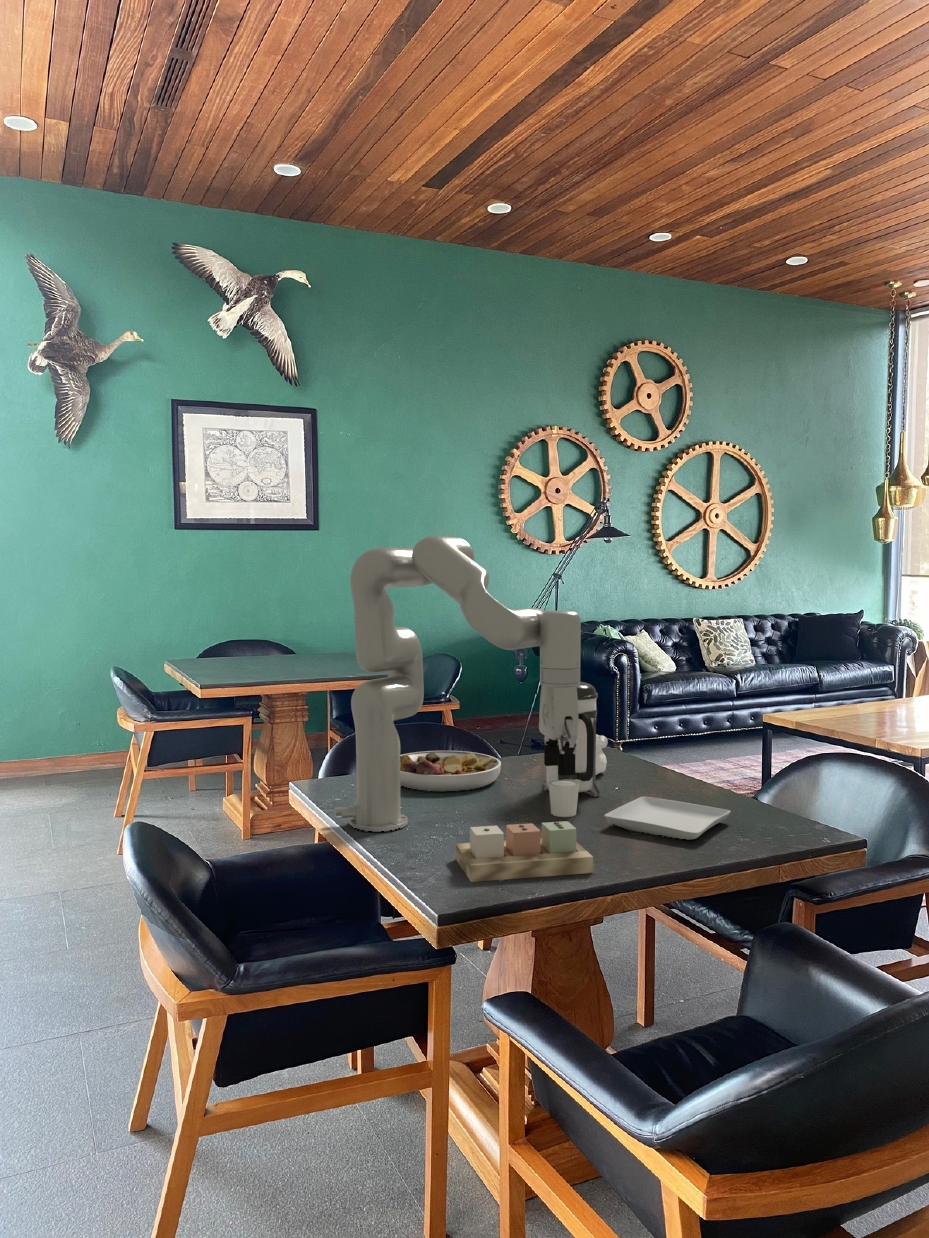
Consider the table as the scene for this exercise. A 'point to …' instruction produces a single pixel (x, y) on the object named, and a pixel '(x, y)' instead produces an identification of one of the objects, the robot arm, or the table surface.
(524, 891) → the table surface
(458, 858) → the wooden dice block tray
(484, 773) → the bowl
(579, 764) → the coffee press
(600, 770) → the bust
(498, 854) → the white dice block
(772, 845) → the table surface
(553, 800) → the shot glass
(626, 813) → the salad plate
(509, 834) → the tan dice block
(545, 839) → the green dice block
